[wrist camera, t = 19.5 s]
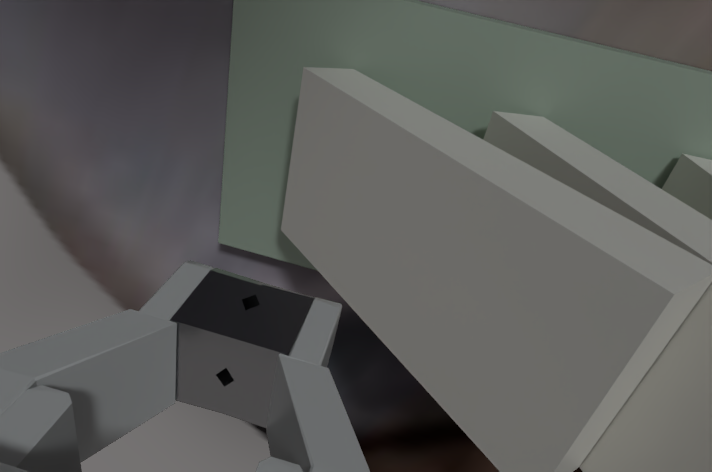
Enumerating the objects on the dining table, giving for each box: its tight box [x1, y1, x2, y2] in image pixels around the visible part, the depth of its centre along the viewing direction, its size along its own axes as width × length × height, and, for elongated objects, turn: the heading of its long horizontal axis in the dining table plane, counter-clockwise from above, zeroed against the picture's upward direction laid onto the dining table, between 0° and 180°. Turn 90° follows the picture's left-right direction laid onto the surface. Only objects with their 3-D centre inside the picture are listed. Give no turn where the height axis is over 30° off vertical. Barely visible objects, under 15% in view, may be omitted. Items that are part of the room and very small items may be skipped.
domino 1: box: [281, 67, 712, 472], centre depth 13 cm, size 2×6×11 cm
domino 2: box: [483, 111, 712, 472], centre depth 12 cm, size 2×6×11 cm, turn 169°
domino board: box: [218, 0, 712, 271], centre depth 16 cm, size 32×10×1 cm, turn 78°
